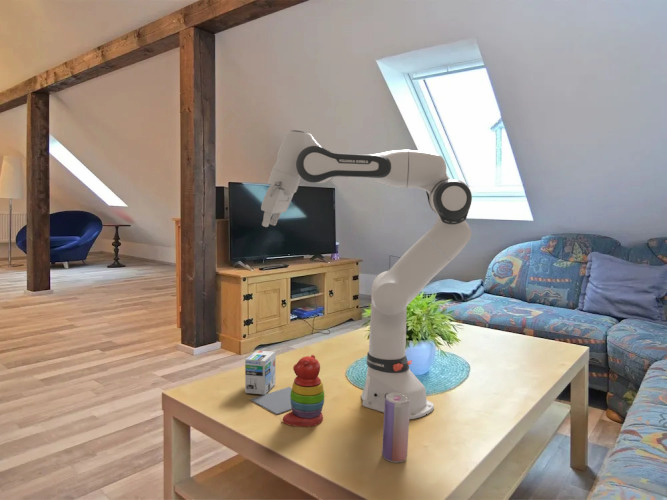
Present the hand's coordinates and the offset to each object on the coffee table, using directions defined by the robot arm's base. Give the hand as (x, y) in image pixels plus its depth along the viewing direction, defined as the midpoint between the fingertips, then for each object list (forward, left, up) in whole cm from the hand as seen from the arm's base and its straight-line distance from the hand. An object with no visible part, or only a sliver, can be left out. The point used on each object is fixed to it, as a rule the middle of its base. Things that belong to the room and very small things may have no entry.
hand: (268, 225), depth 152 cm
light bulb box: (+1, +1, -52) cm, 52 cm away
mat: (-10, +1, -52) cm, 53 cm away
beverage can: (-53, +1, -52) cm, 74 cm away
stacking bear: (-24, +4, -52) cm, 57 cm away
